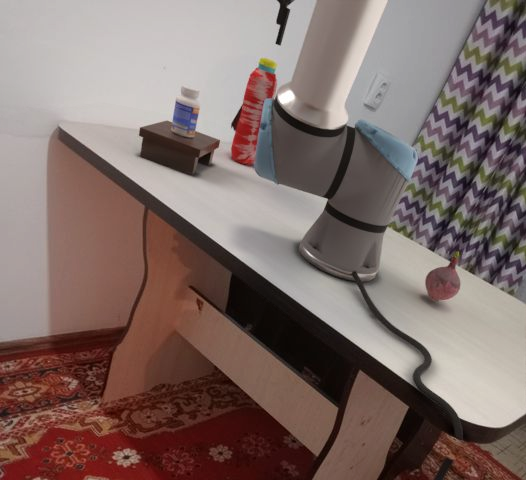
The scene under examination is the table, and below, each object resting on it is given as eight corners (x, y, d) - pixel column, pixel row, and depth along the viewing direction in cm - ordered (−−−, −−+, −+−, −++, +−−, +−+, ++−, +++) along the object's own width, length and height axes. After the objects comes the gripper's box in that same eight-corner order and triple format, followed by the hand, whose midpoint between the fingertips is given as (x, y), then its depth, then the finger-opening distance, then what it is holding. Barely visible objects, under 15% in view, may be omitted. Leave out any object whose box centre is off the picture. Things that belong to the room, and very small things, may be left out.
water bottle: (215, 150, 128) (238, 47, 115) (237, 153, 134) (262, 55, 120) (239, 166, 122) (268, 60, 108) (262, 169, 127) (292, 67, 113)
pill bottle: (192, 139, 104) (201, 93, 99) (168, 132, 103) (176, 84, 98) (195, 135, 109) (204, 90, 103) (172, 128, 108) (180, 82, 103)
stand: (194, 177, 103) (200, 149, 99) (135, 155, 103) (139, 127, 99) (214, 164, 116) (220, 140, 113) (162, 145, 116) (166, 120, 113)
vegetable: (423, 289, 89) (450, 242, 83) (452, 305, 86) (481, 258, 81) (411, 296, 84) (439, 246, 79) (442, 313, 82) (472, 263, 76)
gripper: (407, -46, 89) (363, 76, 101) (287, -90, 89) (256, 36, 101) (410, -54, 83) (362, 76, 95) (281, -102, 83) (249, 34, 95)
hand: (307, 56), depth 98 cm, fingers open, 13 cm apart
